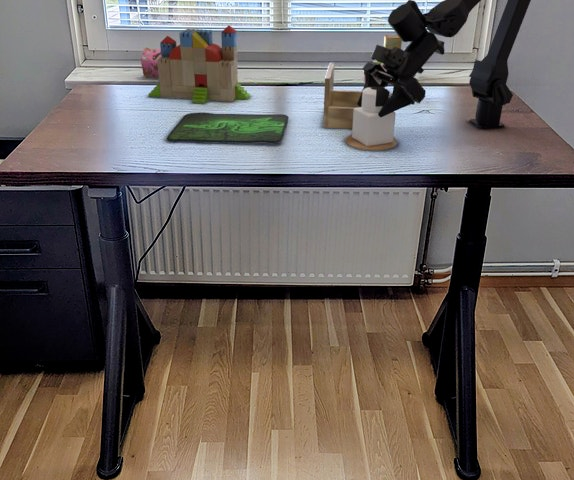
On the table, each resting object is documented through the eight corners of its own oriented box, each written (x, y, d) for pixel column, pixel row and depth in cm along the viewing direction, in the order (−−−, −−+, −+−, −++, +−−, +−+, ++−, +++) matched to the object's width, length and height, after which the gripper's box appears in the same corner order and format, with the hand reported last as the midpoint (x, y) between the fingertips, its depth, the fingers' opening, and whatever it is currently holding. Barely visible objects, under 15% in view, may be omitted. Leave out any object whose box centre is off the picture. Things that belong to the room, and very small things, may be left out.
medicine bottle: (376, 134, 153) (380, 83, 147) (393, 142, 147) (398, 90, 141) (351, 137, 150) (354, 86, 144) (367, 147, 145) (371, 93, 138)
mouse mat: (164, 141, 148) (163, 137, 147) (185, 114, 166) (185, 110, 166) (281, 145, 146) (281, 141, 145) (289, 117, 164) (289, 113, 164)
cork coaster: (405, 148, 145) (405, 146, 145) (356, 152, 143) (356, 150, 142) (385, 132, 155) (385, 130, 155) (338, 136, 153) (338, 134, 152)
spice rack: (370, 110, 172) (374, 64, 165) (369, 129, 157) (373, 80, 151) (328, 108, 173) (330, 62, 167) (323, 127, 158) (324, 78, 152)
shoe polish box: (382, 77, 203) (386, 38, 197) (381, 74, 207) (384, 35, 201) (398, 78, 203) (402, 38, 197) (396, 74, 207) (400, 35, 201)
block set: (144, 100, 178) (136, 27, 168) (161, 88, 190) (155, 19, 180) (241, 106, 174) (239, 31, 164) (253, 93, 186) (251, 22, 176)
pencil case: (212, 75, 204) (210, 46, 200) (207, 82, 196) (206, 52, 192) (146, 73, 205) (143, 45, 201) (139, 80, 197) (136, 51, 193)
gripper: (372, 24, 145) (328, 78, 147) (420, 38, 131) (370, 98, 132) (398, 57, 152) (355, 108, 154) (446, 74, 137) (398, 130, 139)
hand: (368, 110), depth 144 cm, fingers open, 9 cm apart
